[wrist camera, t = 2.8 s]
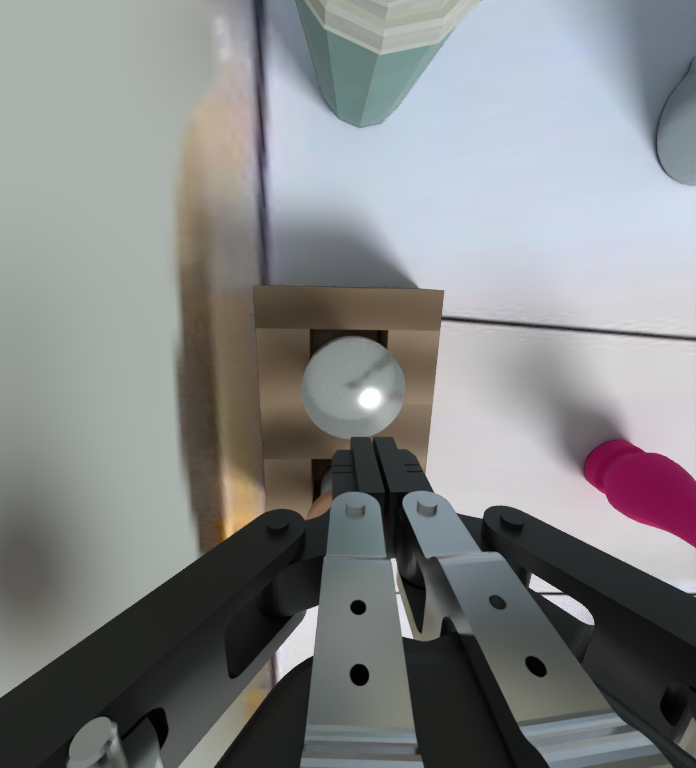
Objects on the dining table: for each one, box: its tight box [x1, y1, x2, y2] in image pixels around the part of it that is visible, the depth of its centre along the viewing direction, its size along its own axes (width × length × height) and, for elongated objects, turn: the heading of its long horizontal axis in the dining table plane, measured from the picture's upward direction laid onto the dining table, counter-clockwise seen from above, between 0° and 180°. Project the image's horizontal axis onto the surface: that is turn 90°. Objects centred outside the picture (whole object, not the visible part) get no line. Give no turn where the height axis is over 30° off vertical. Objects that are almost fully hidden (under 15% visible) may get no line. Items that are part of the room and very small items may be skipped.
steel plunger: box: [301, 336, 405, 439], centre depth 24 cm, size 6×6×7 cm
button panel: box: [253, 285, 444, 520], centre depth 31 cm, size 23×14×7 cm, turn 179°
